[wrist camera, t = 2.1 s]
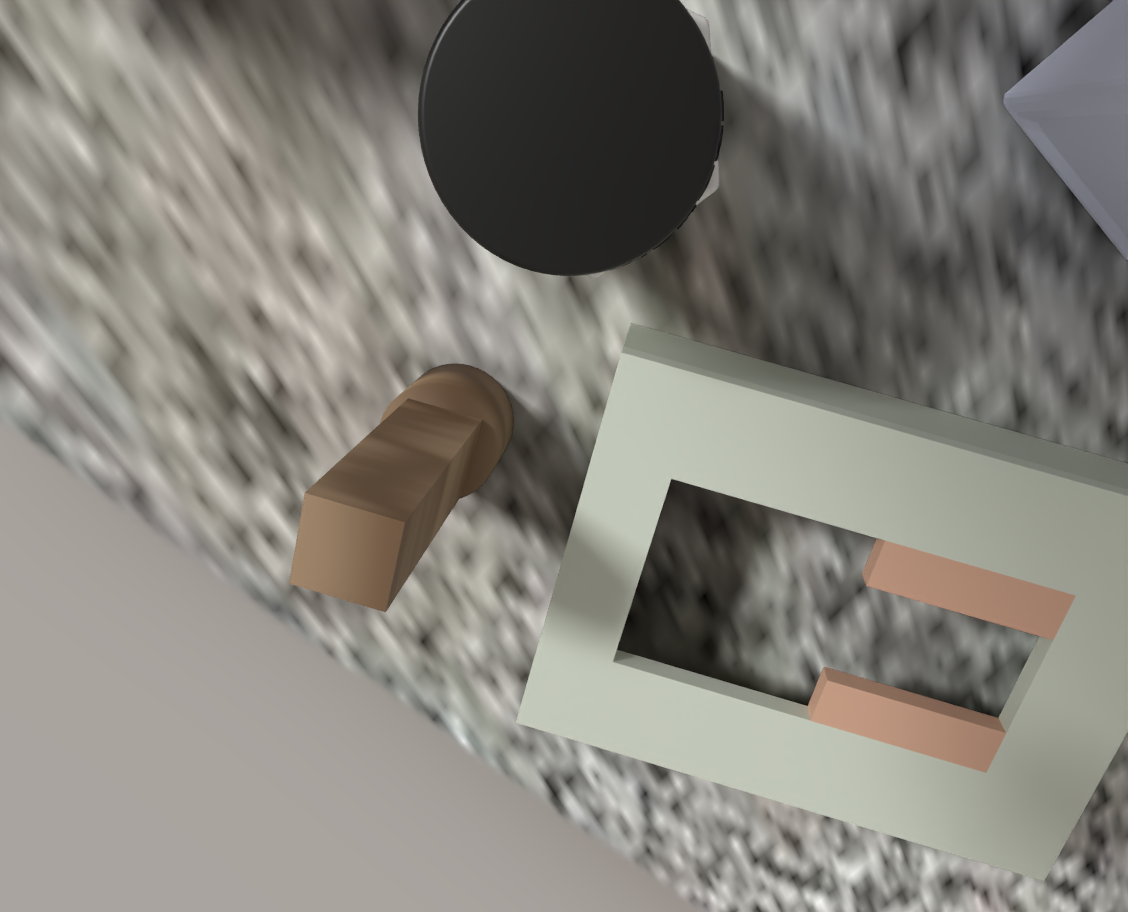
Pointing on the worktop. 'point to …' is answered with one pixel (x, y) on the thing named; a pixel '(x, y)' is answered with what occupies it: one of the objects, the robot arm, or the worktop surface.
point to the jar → (571, 127)
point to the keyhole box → (896, 565)
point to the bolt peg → (400, 485)
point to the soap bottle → (1084, 117)
